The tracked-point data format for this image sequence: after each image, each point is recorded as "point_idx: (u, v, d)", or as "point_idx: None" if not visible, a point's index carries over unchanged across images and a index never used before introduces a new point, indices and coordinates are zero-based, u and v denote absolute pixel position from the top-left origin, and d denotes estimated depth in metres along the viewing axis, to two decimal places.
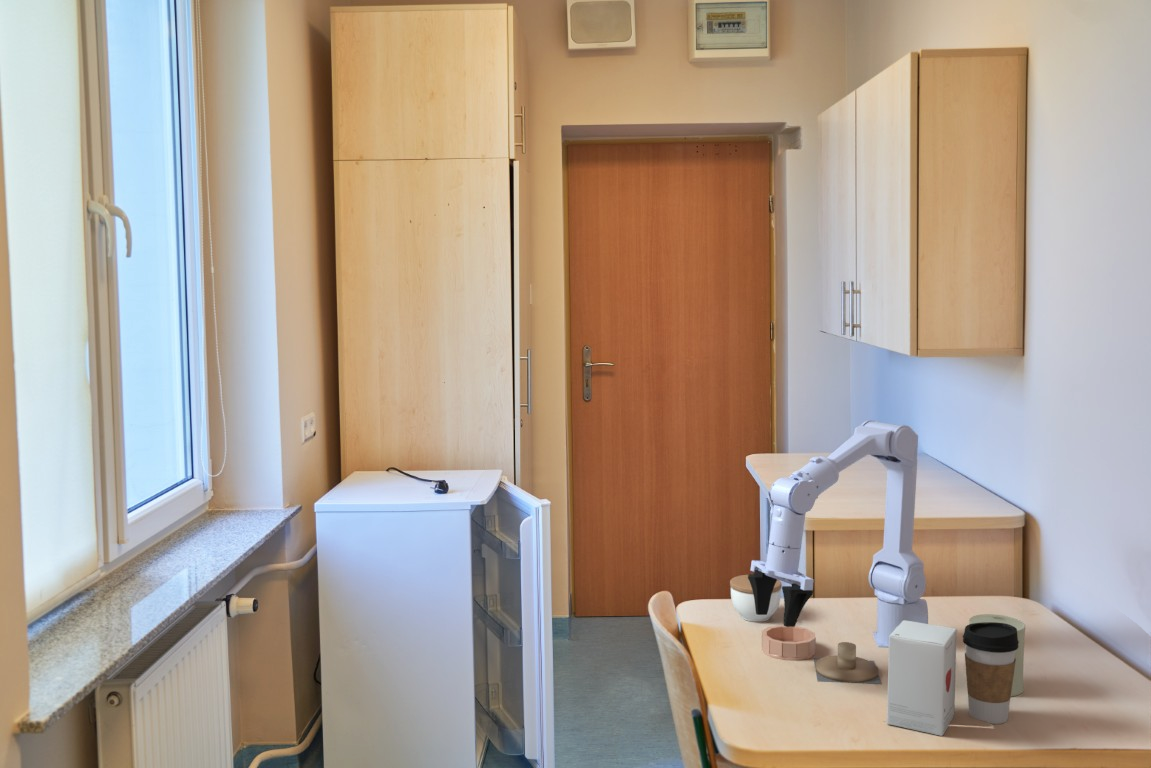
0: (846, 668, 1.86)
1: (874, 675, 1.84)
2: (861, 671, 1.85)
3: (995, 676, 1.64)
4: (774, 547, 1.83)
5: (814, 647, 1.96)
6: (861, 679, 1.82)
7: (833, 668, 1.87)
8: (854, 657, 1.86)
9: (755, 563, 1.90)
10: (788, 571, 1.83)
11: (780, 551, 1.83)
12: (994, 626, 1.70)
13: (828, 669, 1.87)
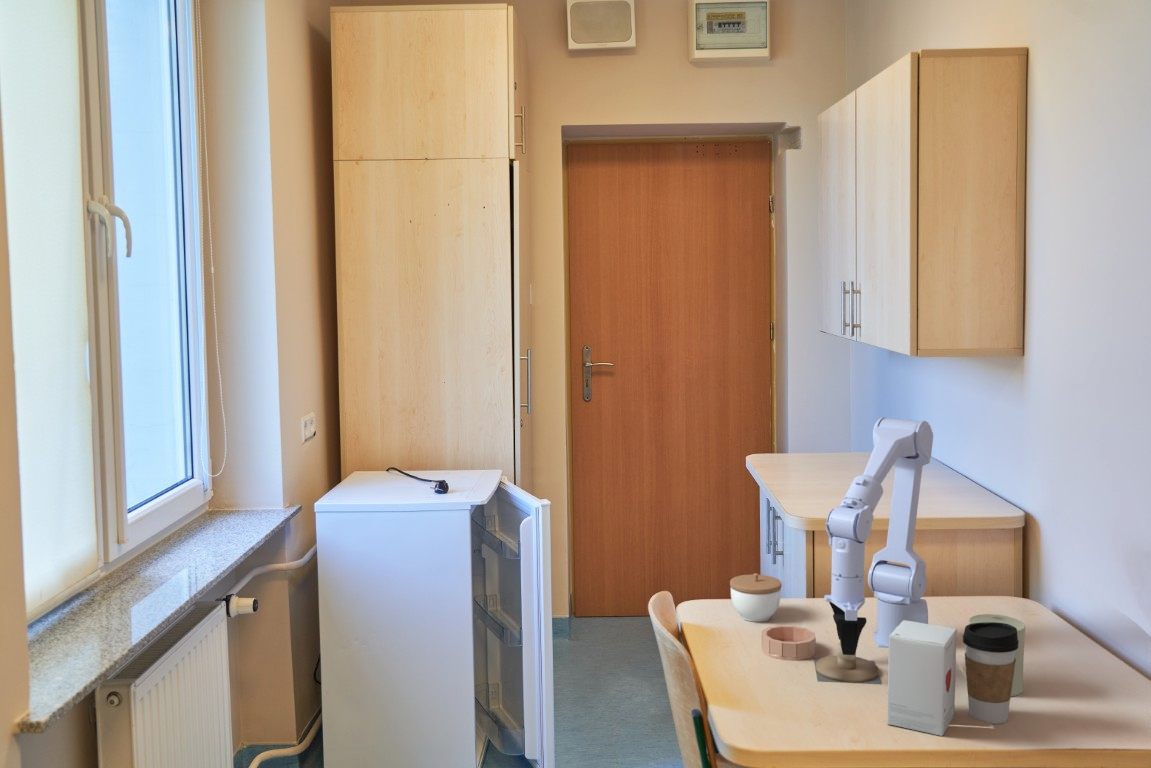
0: (846, 668, 1.86)
1: (874, 675, 1.84)
2: (861, 671, 1.85)
3: (995, 676, 1.64)
4: (832, 575, 1.86)
5: (814, 647, 1.96)
6: (861, 679, 1.82)
7: (833, 668, 1.87)
8: (854, 657, 1.86)
9: None
10: (843, 600, 1.84)
11: (835, 579, 1.85)
12: (994, 626, 1.70)
13: (828, 669, 1.87)
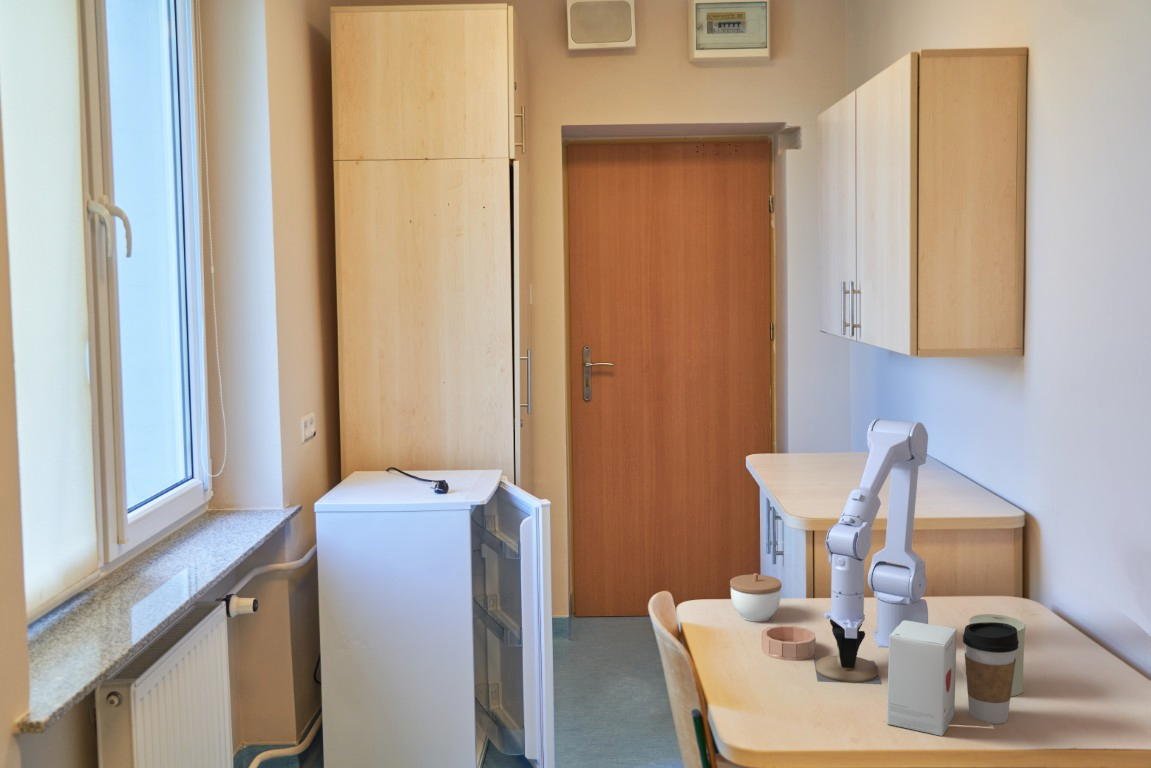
0: (846, 668, 1.86)
1: (874, 675, 1.84)
2: (861, 671, 1.85)
3: (995, 676, 1.64)
4: (831, 592, 1.86)
5: (814, 647, 1.96)
6: (861, 679, 1.82)
7: (833, 668, 1.87)
8: None
9: None
10: (843, 617, 1.84)
11: (835, 597, 1.85)
12: (994, 626, 1.70)
13: (828, 669, 1.87)
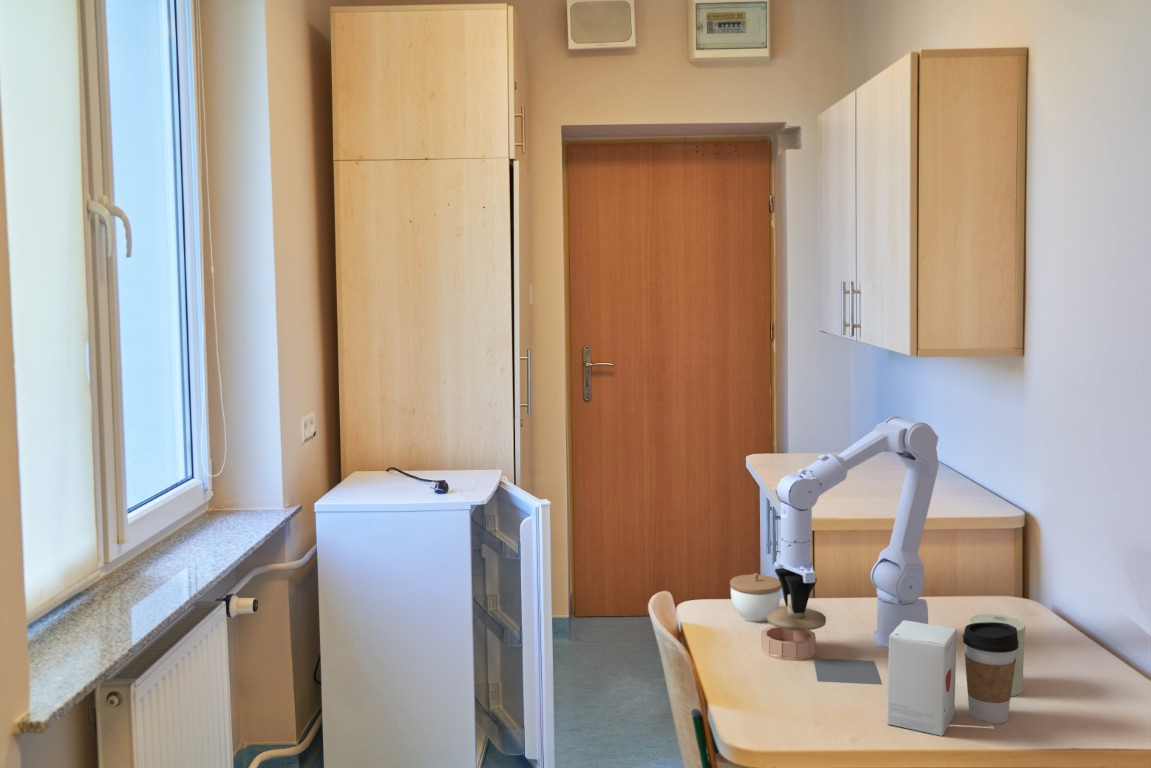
0: (796, 617, 1.95)
1: (823, 622, 1.93)
2: (811, 619, 1.94)
3: (995, 676, 1.64)
4: (782, 542, 1.94)
5: (814, 647, 1.96)
6: (812, 626, 1.91)
7: (784, 618, 1.95)
8: None
9: (778, 555, 2.01)
10: (796, 564, 1.92)
11: (787, 546, 1.93)
12: (994, 626, 1.70)
13: (780, 619, 1.95)
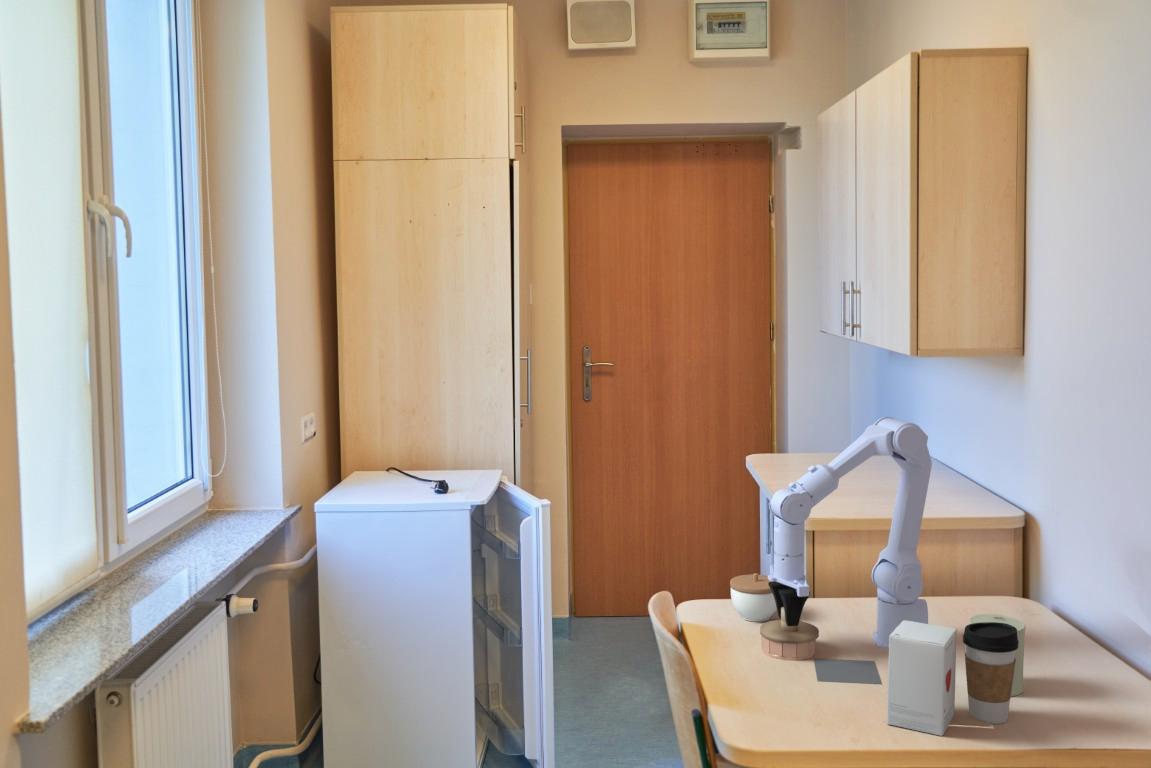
0: (790, 630, 1.96)
1: (816, 635, 1.95)
2: (804, 632, 1.96)
3: (995, 676, 1.64)
4: (776, 556, 1.95)
5: (814, 647, 1.96)
6: (806, 639, 1.93)
7: (777, 631, 1.97)
8: None
9: (771, 568, 2.02)
10: (790, 578, 1.94)
11: (780, 559, 1.94)
12: (994, 626, 1.70)
13: (773, 632, 1.96)
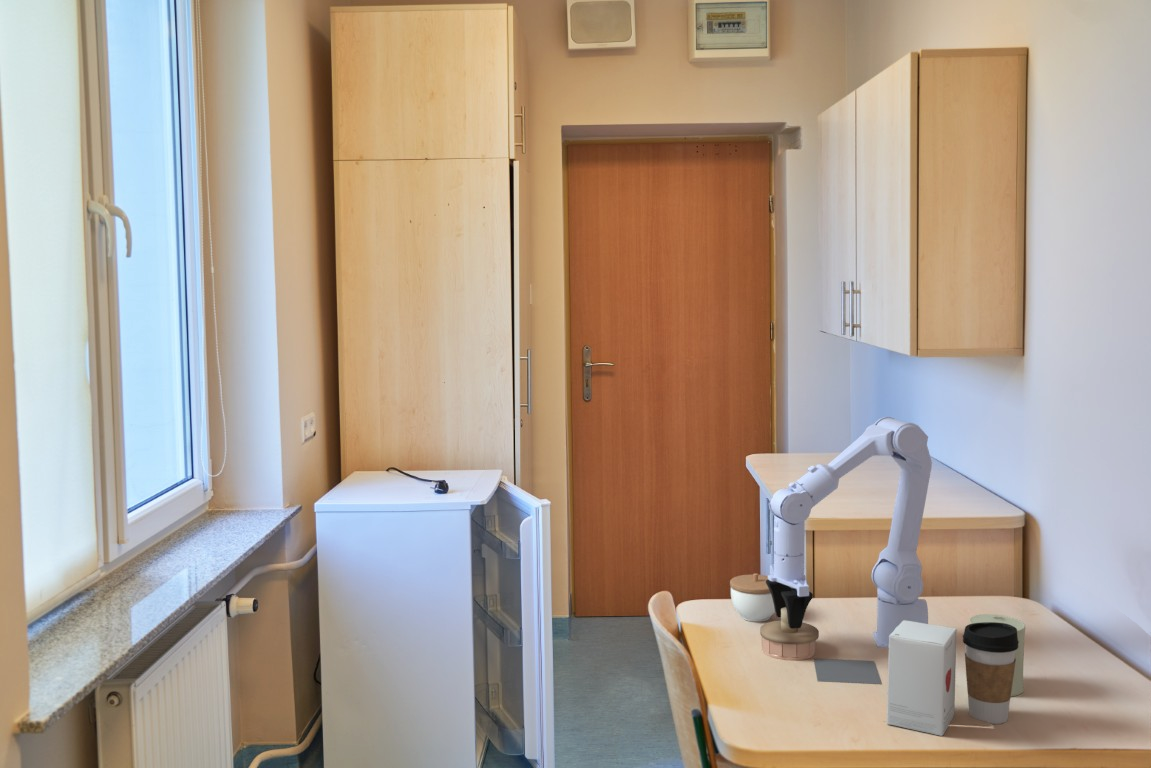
0: (790, 631, 1.96)
1: (816, 636, 1.95)
2: (804, 633, 1.96)
3: (995, 676, 1.64)
4: (776, 556, 1.95)
5: (814, 647, 1.96)
6: (806, 640, 1.93)
7: (777, 632, 1.97)
8: None
9: (771, 568, 2.02)
10: (790, 578, 1.94)
11: (780, 559, 1.94)
12: (994, 626, 1.70)
13: (773, 633, 1.96)
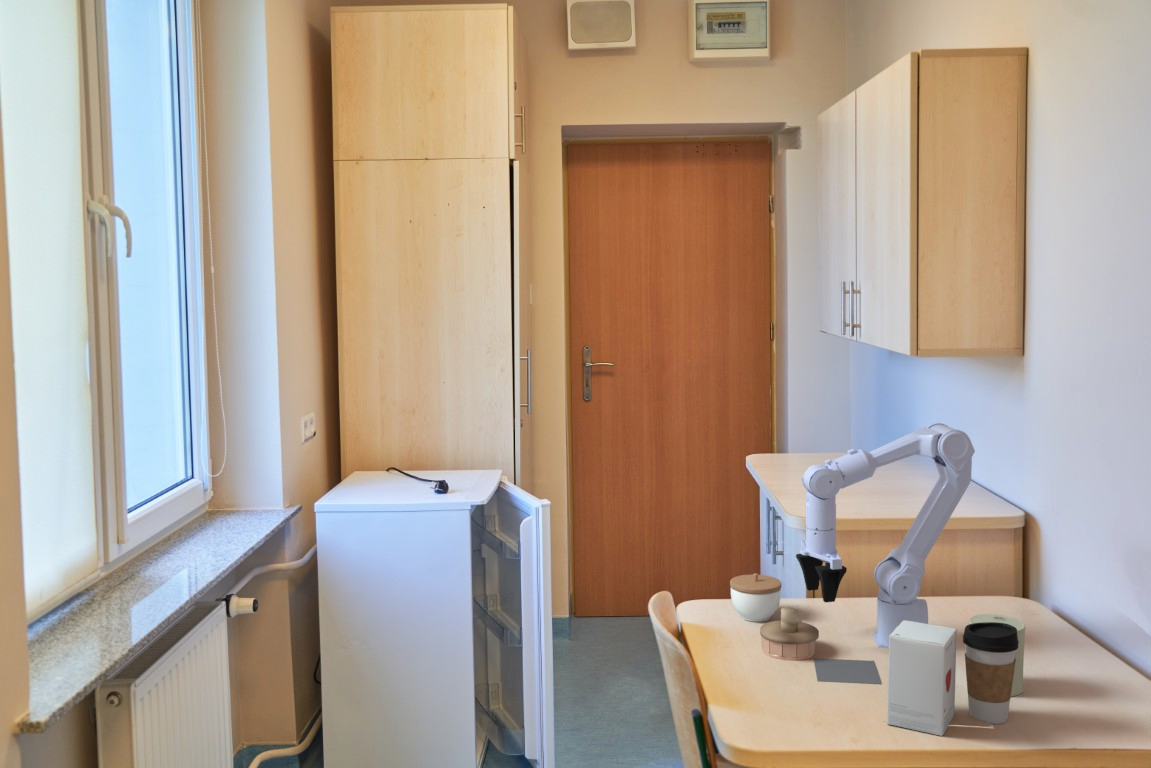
0: (790, 631, 1.96)
1: (816, 636, 1.95)
2: (804, 633, 1.96)
3: (995, 676, 1.64)
4: (808, 530, 1.99)
5: (814, 647, 1.96)
6: (806, 640, 1.93)
7: (777, 632, 1.97)
8: (797, 620, 1.97)
9: (802, 543, 2.06)
10: (822, 551, 1.98)
11: (813, 534, 1.98)
12: (994, 626, 1.70)
13: (773, 633, 1.96)
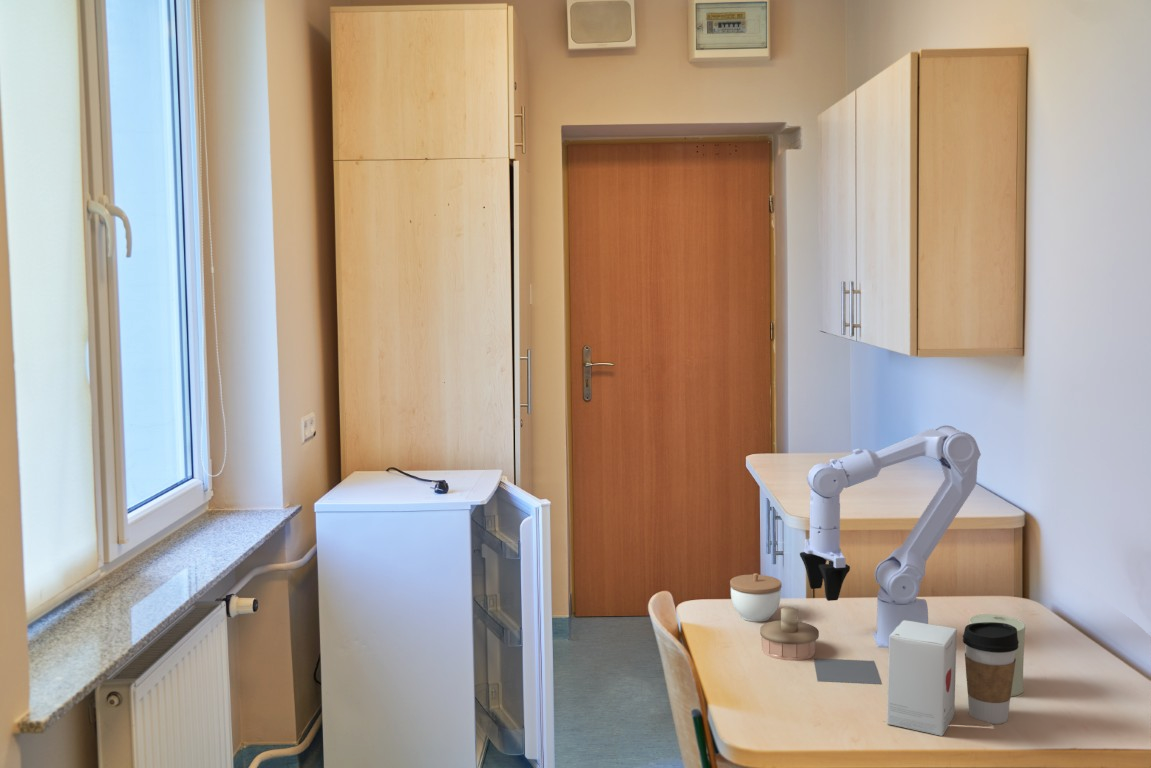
0: (790, 631, 1.96)
1: (816, 636, 1.95)
2: (804, 633, 1.96)
3: (995, 676, 1.64)
4: (812, 528, 2.00)
5: (814, 647, 1.96)
6: (806, 640, 1.93)
7: (777, 632, 1.97)
8: (797, 620, 1.97)
9: (806, 542, 2.07)
10: (826, 550, 1.98)
11: (816, 532, 1.99)
12: (994, 626, 1.70)
13: (773, 633, 1.96)
